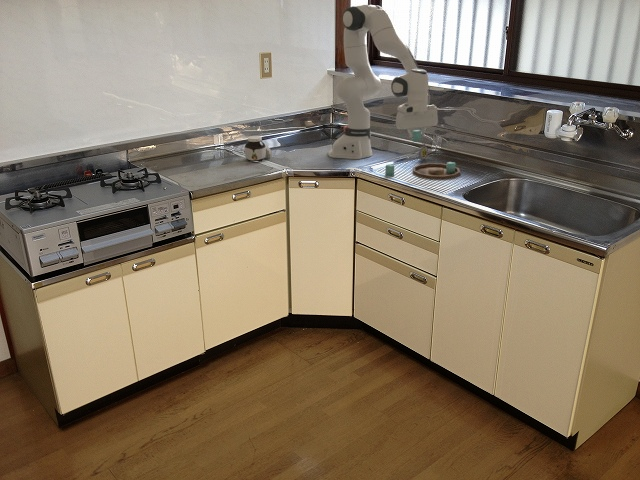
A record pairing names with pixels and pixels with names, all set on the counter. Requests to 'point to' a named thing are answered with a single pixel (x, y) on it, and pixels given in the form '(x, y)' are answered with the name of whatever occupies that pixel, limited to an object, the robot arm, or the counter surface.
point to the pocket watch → (424, 153)
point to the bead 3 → (450, 167)
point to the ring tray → (434, 171)
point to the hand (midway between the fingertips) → (416, 137)
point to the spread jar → (256, 149)
